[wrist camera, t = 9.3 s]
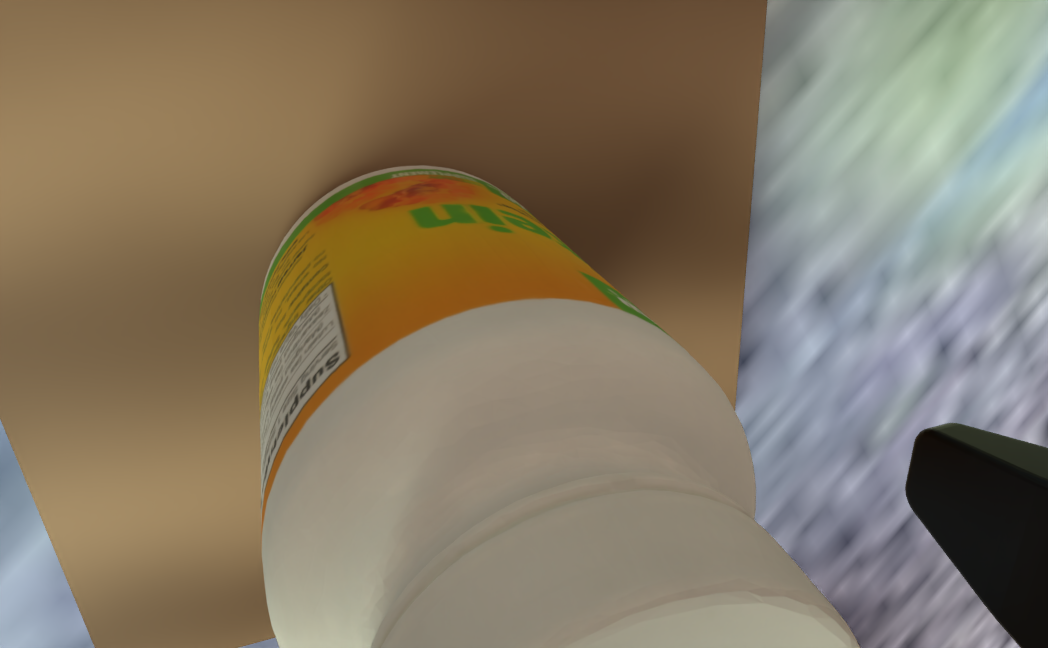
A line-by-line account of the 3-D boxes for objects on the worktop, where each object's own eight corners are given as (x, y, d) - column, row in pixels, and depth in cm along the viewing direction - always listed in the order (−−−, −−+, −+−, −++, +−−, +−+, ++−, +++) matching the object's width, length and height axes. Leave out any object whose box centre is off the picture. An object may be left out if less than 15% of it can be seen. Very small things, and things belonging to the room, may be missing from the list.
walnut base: (669, 448, 21) (726, 513, 19) (130, 579, 18) (109, 682, 15) (690, -128, 15) (779, -149, 13) (-120, -103, 12) (-225, -125, 9)
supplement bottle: (598, 226, 15) (1069, 575, 6) (479, 458, 16) (733, 1006, 7) (326, 106, 12) (489, 404, 4) (213, 391, 13) (148, 1083, 5)
